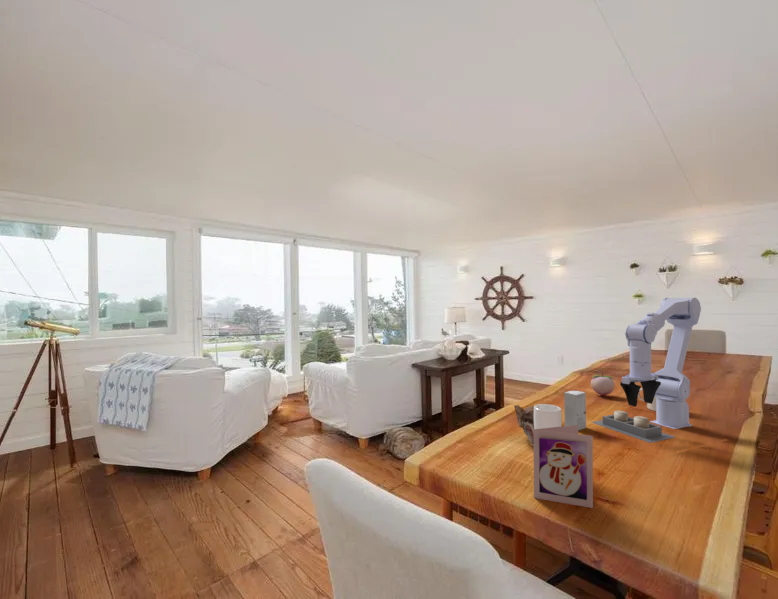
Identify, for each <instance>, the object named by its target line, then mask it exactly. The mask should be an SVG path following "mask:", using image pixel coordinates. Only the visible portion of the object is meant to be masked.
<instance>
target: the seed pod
mask: <svg viewBox="0 0 778 599" xmlns="http://www.w3.org/2000/svg"><path fill="white" fill-rule="evenodd" d="M534 406H535V405H530V406H527V407H525V408H523V407H521V406H520V405H518V404H517V405H514V411H515V414H516V419H517V424H518V426H519V428H522V430H523V432H524V434H525V436H526V437H527V439H528V440H529V442H530V445H531V447H533V448H534Z"/></svg>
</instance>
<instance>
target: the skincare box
mask: <svg viewBox="0 0 778 599" xmlns="http://www.w3.org/2000/svg"><path fill="white" fill-rule="evenodd" d="M563 397H564V398H563V400H564V405H563V407H564V408H563V409H564V426H570V425H578V431H580V430H584V429H586V428H587V408H586V406H587V405H586V401H587V400H586V392H584V391H580V390H569V391H565V392H563Z"/></svg>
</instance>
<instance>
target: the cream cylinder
mask: <svg viewBox="0 0 778 599" xmlns="http://www.w3.org/2000/svg"><path fill="white" fill-rule="evenodd" d="M633 418H634V426H637V427H640V428H643V429H647V428H649V423H650V419H649V417H646V416H640V415H636V416H635V415H634V416H633Z"/></svg>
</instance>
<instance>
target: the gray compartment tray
mask: <svg viewBox="0 0 778 599" xmlns="http://www.w3.org/2000/svg"><path fill="white" fill-rule="evenodd" d="M590 423H592V424H595V425H597V426H599V427H603V428H607V429H609V430H612V431H614V432H617V433H621V434H623V435H626V436H629V437H632V438H635V439H638V440H640V441H643V442H646V443H648V444H649V443H650V444H652V443H656V442H660V441H665V440H669V439H673V438H676V436H674V435H671V434H668V433H665V432H662V430H663V429H662V428H663V427H662V426H661V425H658V424H655V423H652V422H649V428H647V429H643V428H640V427H637V426H634V417H630V416H628V421H627V422H621V421H618V420H615V419H614V414H610V415H604V416H602V419H600V420H596V421H592V422H590Z"/></svg>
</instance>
